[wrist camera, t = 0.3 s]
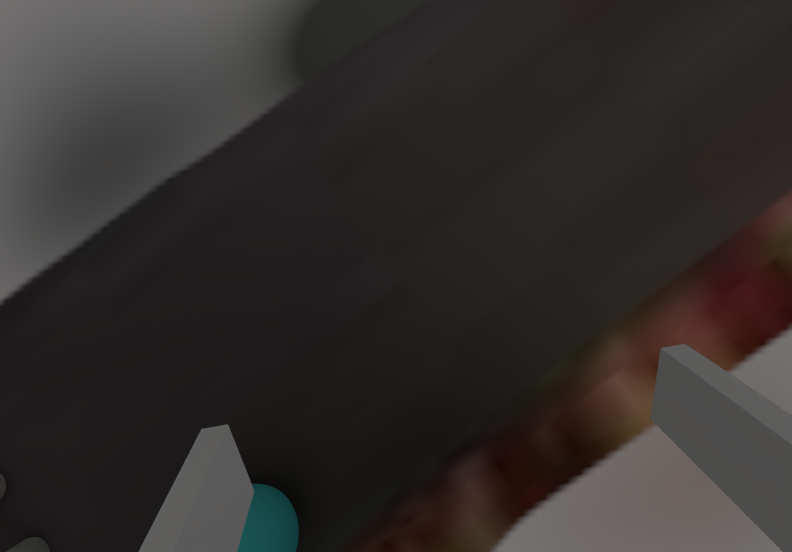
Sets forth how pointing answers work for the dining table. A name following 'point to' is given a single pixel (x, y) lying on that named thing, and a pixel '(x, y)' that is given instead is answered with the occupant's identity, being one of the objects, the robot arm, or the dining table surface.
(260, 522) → the ball
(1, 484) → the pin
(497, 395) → the dining table surface
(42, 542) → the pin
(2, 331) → the dining table surface
